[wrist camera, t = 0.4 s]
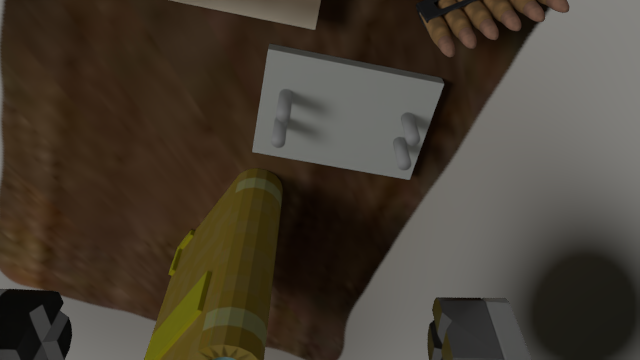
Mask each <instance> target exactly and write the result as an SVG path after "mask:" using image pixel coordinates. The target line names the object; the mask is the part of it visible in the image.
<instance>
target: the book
mask: <svg viewBox="0 0 640 360" xmlns="http://www.w3.org/2000/svg"><path fill="white" fill-rule="evenodd" d="M282 194H283V188H282V184H281V181H280V180H279V179H278V178H277V176H276V175H274V174H273V173H271V172H269V171H268V170H263V169H259V168H256V169H248V170H246V171H244V172H242V173H240V174H239V176H238V177H237V178H236V179H235V181H234V182H233V183H232V185H231V186H230V187H229V188H228V190H227V191H226V192H225V194H224V195H223V196H222V197H221V199H220V200H219V201H218V202H217V204H216V205H215V206H214V208H213V209H212V210H211V211H210V213H209V214H208V215H207V217H206V218H205V219H204V220H203V222H202V223H201V224H200V225H199V227H198V228H197V229H196V231H194V230H191V231H190V232H189V233H188V235H187V236H186V237H185V239H184V240H183V241H182V242H181V244H180V245H179V246H178V248H177V250H176V253H175V256H174V259H173V262H172V265H171V268H170V271H169V275H171V276H172V277H171V280H170V283H169V286H168V289H167V292H166V295H165V298H164V301H163V304H162V307H161V310H160V313H159V316H158V319H157V322H156V325H155V328H154V331H153V334H152V337H151V340H150V343H149V346H148V349H147V352H146V355H145V358H144V360H264V353H265V344H266V335H267V327H268V318H269V309H270V300H271V291H272V283H273V274H274V265H275V256H276V247H277V238H278V230H279V221H280V212H281V203H282Z"/></svg>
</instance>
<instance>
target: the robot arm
mask: <svg viewBox="0 0 640 360" xmlns="http://www.w3.org/2000/svg"><path fill="white" fill-rule="evenodd" d="M62 305H63V300H62V298H61V295H60V293H59V292H56V291H46V290H23V289H0V360H65V358H66V355H67V353H68V351H69V348H70V344H71V339H72V328H71V322H70V320H69V317H68V316H66V315H65V314H64V313H62V312H61V311H60V309H61V307H62ZM432 311H433V316H434V321H433V322H431V323H430V325H429V331H428V356H429V360H532V359H531V357H530V354H529V352H528V349H527V347H526V344H525V341H524V339H523V336H522V334H521V331H520V329H519V326H518V323H517V321H516V318H515V316H514V313H513V310H512V308H511V305H510V303H509V301H508V300H507V299H506V298H482V299H481V298H436V299H435V301H434V304H433V309H432Z"/></svg>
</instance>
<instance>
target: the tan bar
mask: <svg viewBox="0 0 640 360" xmlns="http://www.w3.org/2000/svg"><path fill="white" fill-rule="evenodd" d="M171 1H176V2H181V3H186V4H190V5H195V6H200V7H205V8H210V9H215V10H220V11H225V12H230V13H235V14H240V15H244V16H249V17H254V18H259V19H264V20H269V21H274V22H279V23H284V24H289V25H294V26H298V27H303V28H308V29H313V30H315V28H316V23H317V18H318V13H319V8H320V3H321V0H171Z"/></svg>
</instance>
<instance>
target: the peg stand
mask: <svg viewBox="0 0 640 360" xmlns="http://www.w3.org/2000/svg"><path fill="white" fill-rule="evenodd" d="M443 86H444V82H443V80H442V78H439V77H434V76H429V75H424V74H419V73H414V72H409V71H404V70H399V69H394V68H389V67H384V66H379V65H374V64H369V63H364V62H359V61H354V60H349V59H344V58H339V57H334V56H329V55H324V54H319V53H314V52H309V51H304V50H299V49H294V48H289V47H284V46H279V45H274V44H269V48H268V54H267V61H266V67H265V73H264V80H263V86H262V93H261V99H260V105H259V112H258V118H257V124H256V131H255V137H254V144H253V150H252V152H256V153H261V154H267V155H272V156H278V157H284V158H289V159H295V160H301V161H306V162H312V163H318V164H323V165H329V166H334V167H340V168H346V169H351V170H357V171H363V172H368V173H374V174H379V175H385V176H391V177H396V178H402V179H408V180H410V177H411V174H412V172H413V169H414V166H415V163H416V161H417V158H418V155H419V152H420V150H421V147H422V144H423V141H424V139H425V136H426V133H427V130H428V127H429V125H430V122H431V119H432V116H433V114H434V111H435V108H436V105H437V103H438V100H439V97H440V94H441V92H442V89H443Z"/></svg>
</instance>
